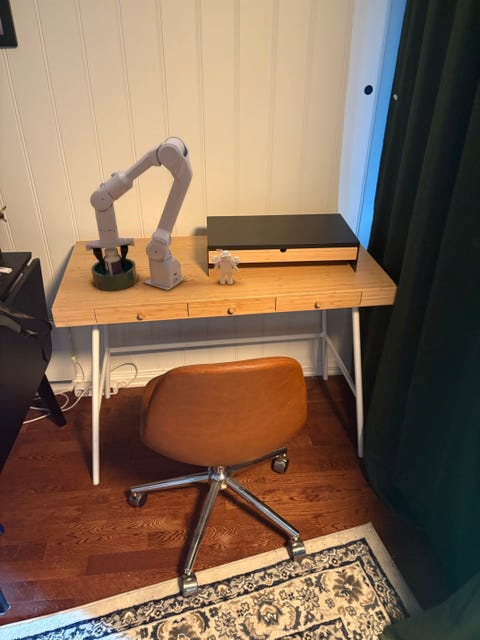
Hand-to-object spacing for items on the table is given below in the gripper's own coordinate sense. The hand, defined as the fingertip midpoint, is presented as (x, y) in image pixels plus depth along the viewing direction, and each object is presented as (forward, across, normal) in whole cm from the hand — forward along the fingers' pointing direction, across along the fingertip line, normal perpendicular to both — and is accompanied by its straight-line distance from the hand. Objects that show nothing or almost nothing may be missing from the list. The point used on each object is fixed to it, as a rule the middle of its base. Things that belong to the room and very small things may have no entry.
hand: (114, 268), depth 151 cm
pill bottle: (+3, 0, 0) cm, 3 cm away
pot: (+4, 0, 0) cm, 4 cm away
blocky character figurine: (+5, -34, +10) cm, 36 cm away
